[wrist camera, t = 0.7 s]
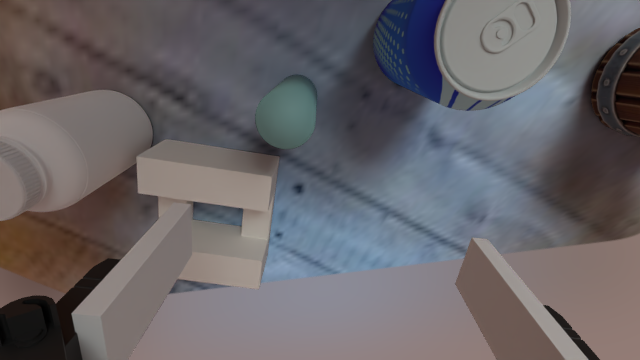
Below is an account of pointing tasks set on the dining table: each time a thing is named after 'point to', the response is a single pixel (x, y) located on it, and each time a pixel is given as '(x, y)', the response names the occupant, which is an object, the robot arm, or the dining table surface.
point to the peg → (288, 113)
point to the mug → (619, 87)
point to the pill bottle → (67, 149)
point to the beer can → (470, 47)
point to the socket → (221, 189)
